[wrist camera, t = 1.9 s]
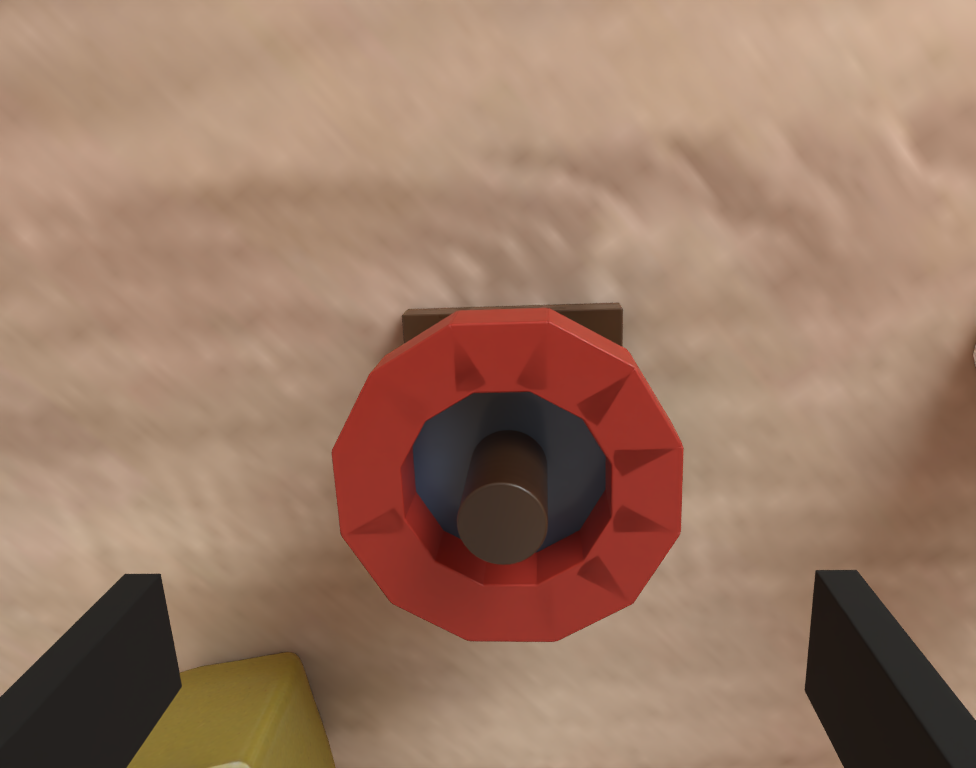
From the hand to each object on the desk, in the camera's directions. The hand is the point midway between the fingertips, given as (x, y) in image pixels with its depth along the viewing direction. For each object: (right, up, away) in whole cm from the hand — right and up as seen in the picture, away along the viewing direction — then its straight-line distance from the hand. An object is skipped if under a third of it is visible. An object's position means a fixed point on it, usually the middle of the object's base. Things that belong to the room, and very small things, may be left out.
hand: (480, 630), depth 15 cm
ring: (+1, +2, +8) cm, 9 cm away
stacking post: (+1, +4, +14) cm, 15 cm away
